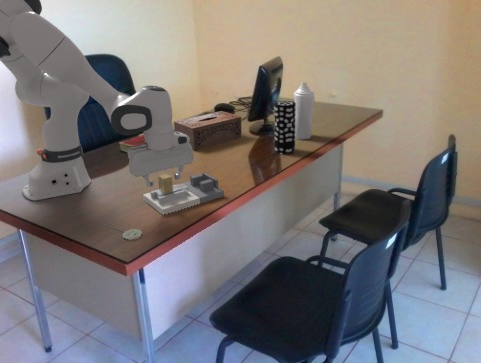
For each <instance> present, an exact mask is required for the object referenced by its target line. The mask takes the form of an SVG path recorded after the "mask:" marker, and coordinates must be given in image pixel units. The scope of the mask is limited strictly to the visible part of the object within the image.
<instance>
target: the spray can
mask: <svg viewBox="0 0 481 363" xmlns="http://www.w3.org/2000/svg"><path fill="white" fill-rule="evenodd" d="M293 98H294V99H293V100H294V102H295V103H296V116H295V140H308V139H311V137H312V133H313V116H314V115H313V114H314V108H315V107H314V106H315V99H316V98H315V93H314V91H313V90H311V89H310V87H309V86H308V84H307V82H304V81H301V83H300V86H299V87H298V88H297V90H294V92H293Z"/></svg>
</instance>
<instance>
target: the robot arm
mask: <svg viewBox="0 0 481 363" xmlns="http://www.w3.org/2000/svg"><path fill="white" fill-rule="evenodd" d="M42 11H43V6H42V2H41V0H0V62H1V63H2V64H3V65H4V66H5V67H6V68H7V70H9V71H10V72H11V74H12V75H13V76H14V78H15V79H16V82H15V85H14V86H15V87H14V90H15V95H16V96H17V99H18V100H19V101H21V102H22V103H24V104H27V105H29V106H34V107H45V108H50V117H49V119H47V120H46V121H45V122H44V123H43V124H42V126H41V131H42V137H43V140H44V141H43V142H44V145H45V146H44V147H45V148H44V149H41V148H38V149H37V150H36V154H37V155H38V156H40V159H41V160H40V162H39V163H37V165H35V166H34V167H33V168H32V170H30V171H29V173H28V176H27V184H26V185H24V186H23V187H22V194H23V196H24V197H25V199H27V200H31V201H41V200H46V199H50V198H57V197H62V196H67V195H72V194H77V193H80V192H81V191H83V190H84V189H85V188H87V186H89V185H90V184H91V182H92V180H91V178H90V176H89V173H88V171H87V168H86V166H85V162H84V152H83V151H84V150H83V147H82V143H80V138H79V132H78V131H79V130H78V116H79V113H80V111H81V109H82V108H83V107H84V106H85V105H86V104H87V102H88V101H89V99H90V97H91V98H93V99H94V100H95V101H97V103H98V104H100V105H101V106H102V108H103V109H104V112H105V114H106V116H107V117H108V119H109V122H110V125H111V127H112V129H113V130H114V131H115V132H116V133H118V134H120V135H122V136H134V135H137V134H140V133H143V135H144V137H145V143H144V144H140V145H135V146H132V148H130V149H129V150H128V152H127V157H128V161H129V162H128V167H129V173H130V174H131V175H132V176H133V177H135V178H138V177H142V178H143V179H144V181H145V184H146V186H147V187H148V188H151V187H154V181H153V180H152V179H149V177H150V174H154V173H158V172H162V171H166V170H169V169H174V168H177V169H176V172H175V173H173V177H174V178H173V179H174V180H175V181H178V180H181V177H182V176H181V174H182V173H183V170H184V166H186V165H190V164H192V163H193V162H194V151H193V150H192V146H191V144H190V143H189V142H190V137H189V136H187V135H185V134H183V133H181V132H176V131H175V127H174V124H173V109H172V102H171V95H170V93H169V92H168V91H167V90H166V89H165V88H164V87H161V86H158V85H145V86H142V87H141V88H140V89H139V90H138V91H137V92H135V93H134V94H132V95H130V94H129V93H125V92H123V91H120V90H117V89H116V88H115V87H114V86H112V85H111V84H110V83H109V82H108V81H107V80H106V79H104V78H103V77H102V76H101V75H100V74H98V73H97V72H96V70H94V68H93V66H91V64H90V63H89V61H88V59H87V57H86V56H85V55H84V53H83V52H82V51H81V49H80V48H79V47H78V46H77V45H76V44H75V43H74V42H73V40H71V38H69V36H67V35H66V34H65V33H64V32H63V31H61V29H59V27H57V26H55V25H54V24H53V23H52V22H50V21H49V20H47V19H46V18H45V17H43V16H41V13H42ZM131 149H133V150H131Z"/></svg>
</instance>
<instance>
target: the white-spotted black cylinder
mask: <svg viewBox="0 0 481 363" xmlns="http://www.w3.org/2000/svg"><path fill="white" fill-rule="evenodd" d="M295 116H296V103H295V101H292V100H278V101H275V102H274V153H275V154H278V155H283V156H285V155H292V154H294V153H296V139H295Z"/></svg>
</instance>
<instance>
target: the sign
mask: <svg viewBox="0 0 481 363" xmlns="http://www.w3.org/2000/svg"><path fill="white" fill-rule="evenodd" d="M102 225H103V226H105V225H106V226H105V227H108V228H110V227H111V228H110V229H113V228H114V229H113V230H115V229H116V231H118V230H119V232H121V231H122V232H121V233H122V238H123V239H124V238H125V239H135V238H137V237H139V236H141V234H142V235H143V232H142V231H141V230H140V229H135V228H133V229H128V230H126V231H124V230H121V229H118V228H116V227H113V226H110V225H108V224H106V223H102ZM123 232H124V233H123ZM141 237H142V236H141ZM125 239H124V240H125ZM135 240H136V239H135Z"/></svg>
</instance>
